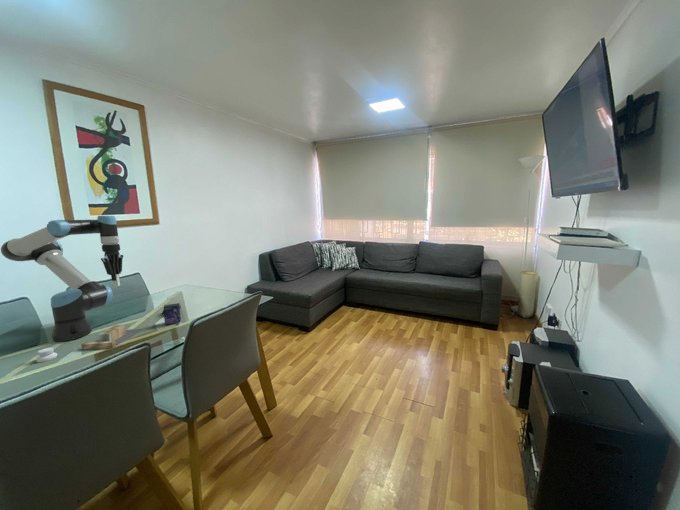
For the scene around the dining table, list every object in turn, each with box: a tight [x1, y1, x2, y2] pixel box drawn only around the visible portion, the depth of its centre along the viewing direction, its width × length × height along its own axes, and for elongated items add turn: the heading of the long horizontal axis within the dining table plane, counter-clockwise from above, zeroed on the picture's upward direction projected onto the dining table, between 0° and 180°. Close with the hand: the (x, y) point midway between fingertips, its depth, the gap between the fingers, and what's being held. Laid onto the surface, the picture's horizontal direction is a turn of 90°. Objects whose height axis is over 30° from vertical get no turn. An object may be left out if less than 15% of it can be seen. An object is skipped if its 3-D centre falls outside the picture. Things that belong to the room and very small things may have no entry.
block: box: [97, 324, 127, 342], centre depth 137 cm, size 5×5×11 cm
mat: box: [94, 328, 143, 346], centre depth 139 cm, size 14×18×1 cm
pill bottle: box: [35, 347, 58, 363], centre depth 119 cm, size 6×6×12 cm
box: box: [163, 302, 182, 326], centre depth 157 cm, size 8×6×11 cm
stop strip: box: [80, 341, 117, 350], centre depth 128 cm, size 14×2×2 cm, turn 93°
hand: (116, 285), depth 149 cm, fingers closed
